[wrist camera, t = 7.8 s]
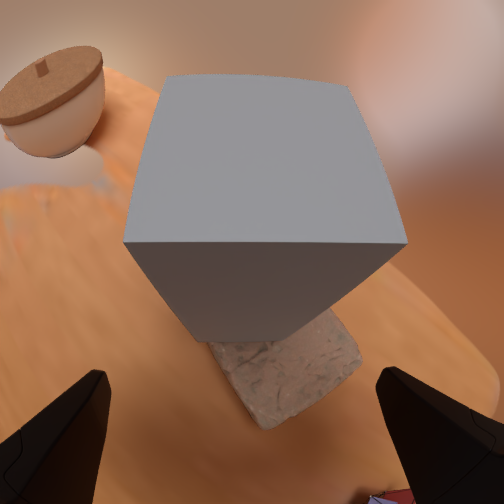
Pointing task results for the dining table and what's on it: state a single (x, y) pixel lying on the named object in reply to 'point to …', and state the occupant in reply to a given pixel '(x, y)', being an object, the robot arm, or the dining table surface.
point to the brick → (289, 368)
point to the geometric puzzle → (393, 497)
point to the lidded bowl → (54, 102)
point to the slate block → (258, 204)
